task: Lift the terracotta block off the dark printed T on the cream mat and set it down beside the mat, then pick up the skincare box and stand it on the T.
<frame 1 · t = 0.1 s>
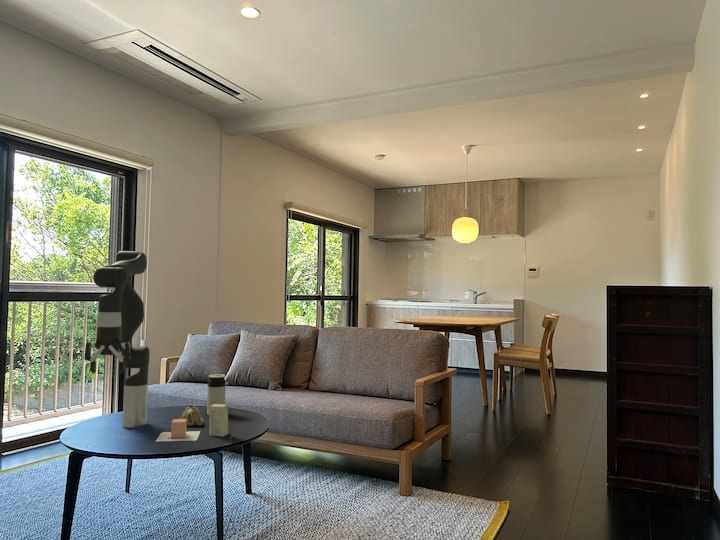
hand: (107, 372, 180), 29 cm above the table, fingers open, 8 cm apart
ceramic sculpture: (190, 426, 226), on the table
terracotta block: (178, 436, 207), point 1 cm above the table, touching letter mat
skincare box: (218, 436, 210), on the table
travel mug: (215, 414, 246), on the table
letter mat: (178, 437, 207), on the table
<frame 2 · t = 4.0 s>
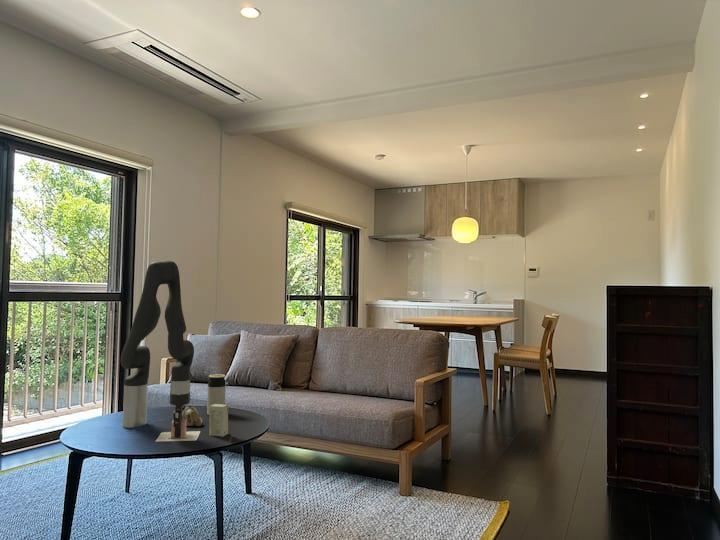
hand: (178, 435, 207), 1 cm above the table, fingers closed on terracotta block, 5 cm apart
terracotta block: (178, 436, 207), point 1 cm above the table, touching gripper, letter mat
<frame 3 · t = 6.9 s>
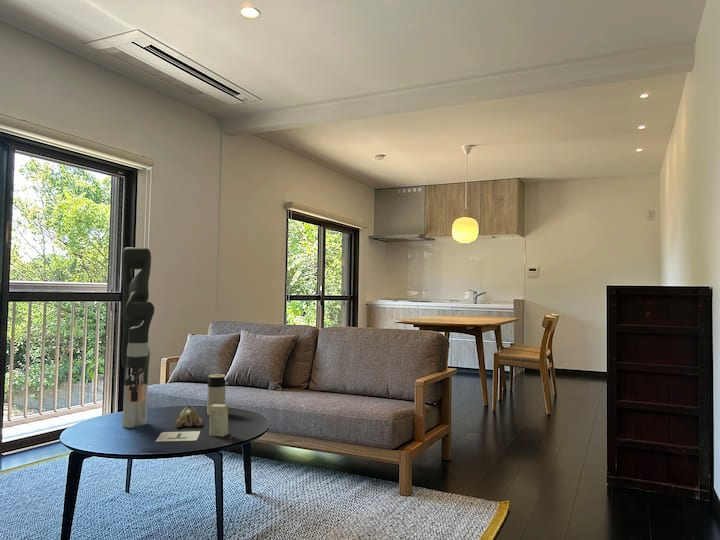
hand: (135, 399, 198), 16 cm above the table, fingers closed on terracotta block, 5 cm apart
terracotta block: (135, 400, 199), point 16 cm above the table, touching gripper
when the fingers open (2 cm above the table, at t = 9.8 s): terracotta block drops 2 cm, on the table.
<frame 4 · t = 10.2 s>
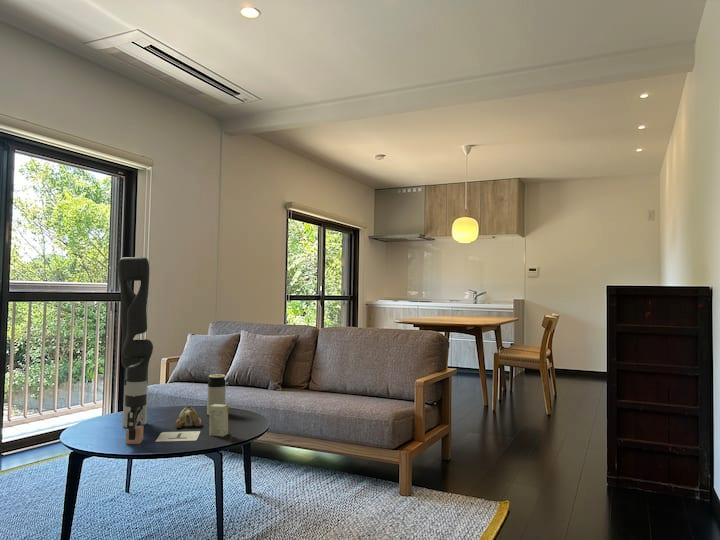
hand: (134, 436, 198), 3 cm above the table, fingers open, 8 cm apart
terracotta block: (134, 443, 198), on the table
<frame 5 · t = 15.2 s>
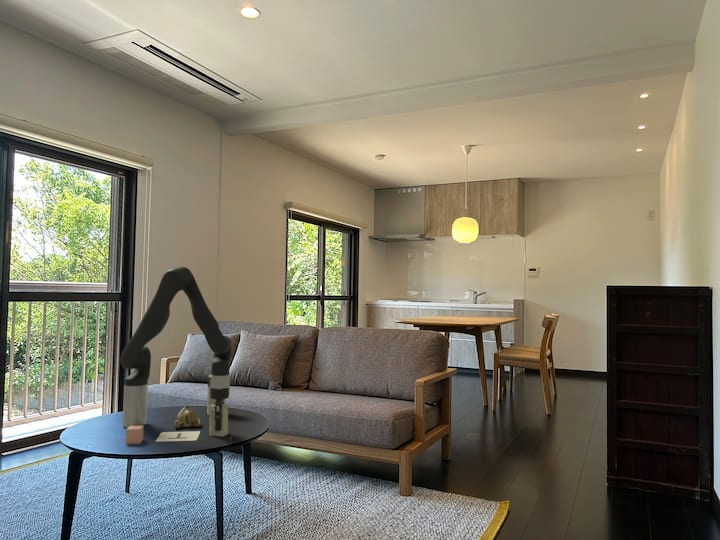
hand: (218, 428, 210), 3 cm above the table, fingers closed on skincare box, 5 cm apart
skincare box: (218, 436, 210), on the table, touching gripper
when the fingers open (5 cm above the table, at t = 21.1 s): skincare box drops 1 cm, resting on letter mat.
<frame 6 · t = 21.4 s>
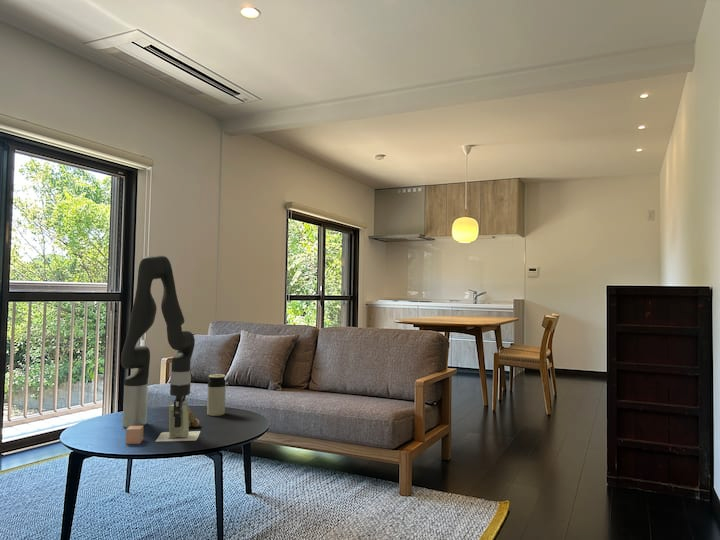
hand: (179, 424, 207), 5 cm above the table, fingers open, 7 cm apart
skincare box: (178, 436, 207), resting on letter mat
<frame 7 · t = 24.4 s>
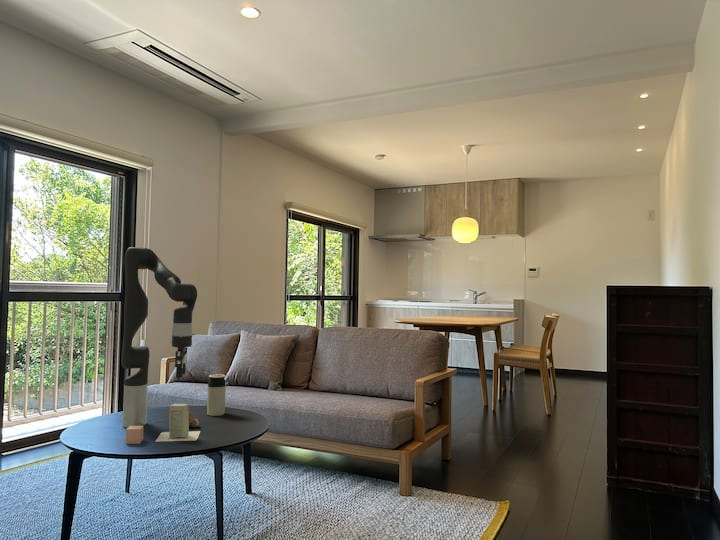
hand: (180, 375, 207), 24 cm above the table, fingers open, 8 cm apart
at the end: skincare box 0.1 cm off-centre on the letter mat, point 0.4 cm above the letter mat's base; skincare box tilted 0°; terracotta block touching table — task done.
